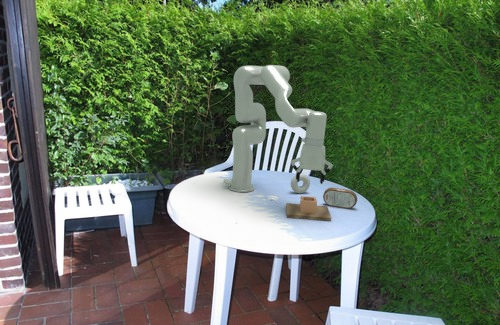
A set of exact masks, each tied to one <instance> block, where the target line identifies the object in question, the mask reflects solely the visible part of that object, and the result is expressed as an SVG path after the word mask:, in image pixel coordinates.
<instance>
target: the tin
mask: <svg viewBox="0 0 500 325" xmlns="http://www.w3.org/2000/svg"><path fill="white" fill-rule="evenodd" d="M322 197H323V199H322V200H323V202H324V203H325V204H326V206H328V207H329V206H330V207H335V208H341V209H345V210H346V209H347V210H349V209H352V208H354V207H355V206H356V205H357V202H358V197H357V194H356V193H355V192H354V191H353V190H351V189H344V188H338V187H333V186H332V187H328V188H326V189H325V191H324V192H323V195H322Z"/></svg>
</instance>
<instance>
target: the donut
mask: <svg viewBox="0 0 500 325" xmlns="http://www.w3.org/2000/svg"><path fill="white" fill-rule="evenodd" d="M300 181H302V182H303V184H302V185H301V186H299V185H298V183H299V182H300ZM299 182H297V179H296V174H295V175H294V176H293V177H292V179H291V181H290V187H291V190H292V191H293V192H294V193H297V194H304V193H305V192H307V191H308V190H309V188H310V185H311V179H310V177H309V176H308V175H307V174H305V173H300V179H299Z"/></svg>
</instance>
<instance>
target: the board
mask: <svg viewBox="0 0 500 325" xmlns="http://www.w3.org/2000/svg"><path fill="white" fill-rule="evenodd" d="M328 207H329V206H328V205H317V208H316V213H305V212H300V203H289V202H286V203H285V208H286V211H285V213H286V219H296V220H298V219H299V220H311V221H321V222H322V221H323V222H332V216H331V213H330V211H329V208H328Z"/></svg>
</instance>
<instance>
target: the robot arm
mask: <svg viewBox="0 0 500 325" xmlns="http://www.w3.org/2000/svg"><path fill="white" fill-rule="evenodd" d="M290 79H291V74H290V71H289V69H288V68H287V67H286V66H283V65H278V64H277V65H275V64H267V65H265V66H262V65H242V66H239V67H238V69H236V71H235V72H234V75H233V87H234V93H235V97H234V101H235V102H234V105H235V106H234V108H235V109H234V110H235V112H234V113H235V115H234V116H235V120H236V121H237V122H238V123H242V124H248V123H250V125H240V126H237V127H236V128H234V129H233V132H232V136H231V137H232V145H233V159H232V160H233V161H232V162H233V163H232V178H229V179H227V178H226V179H223V184H225V185H228V188H229V190H230V191H233V192H236V193H237V192H238V193H249V192H253V191H254V190H255V186H254V185H252V178H253V177H252V176H253V161H254V159H253V158H254V154H253V152H254V151H253V150H252V148H251V145H252V146H253V145H259V144H261V143H263V142H264V141H265V138H266V134H267V114H266V113H267V112H266V109H265V107H264V105H263V104H261V103H260V102H254V94H253V93H254V92H253V90H252V88H251V86H250V85H261V86H262V85H263V86H265V87H266V88H267V89H268V91H269V92H270V93H271V95H272V96H273V97H274V100H275V101H274V102H275V103H274V106H275V110H276V113H277V115H278V116H279V118H280V120H282V122H283V123H284V124H285V126H287V127H288V128H295V129H296V128H305V127H306V130H305V137H302V138H301V143H302V142H303V144H302V146H301V151H300V155H299V157H296V158H293V159H292V160H291V161H290V164H291V166H292V168H293V170H294V171H295V172H296V173H295V175H296V179H297V182H298V183H299V182H300V181H299V179H300V174H301V171H302V170H306V171H317V172H318V171H320V172H321V173H320V179H319V183H320V185H323V183H324V182H325V178H326V177H325V176H326V175H327V174H328V173H329V172H331V170H332V168H333V167H334V165H333V164H332V162H330V161H328V160H327V159H326V146H325V145H324V142H325V141H324V140H325V132H326V126H327V116H328V115H327V114H326V113H325V112H324V111H323V112H322V111H318V110H317V111H315V110H313V109H310V108H293V106H292V105H291V103H290V102H289V101H288V98H289V97H290V95H291V94H292V93H293V88H292V86H291V84H290V83H289V81H290ZM296 163H299V165H298V166H297V165H296ZM325 165H327V166H328V167H327V168H325Z"/></svg>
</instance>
